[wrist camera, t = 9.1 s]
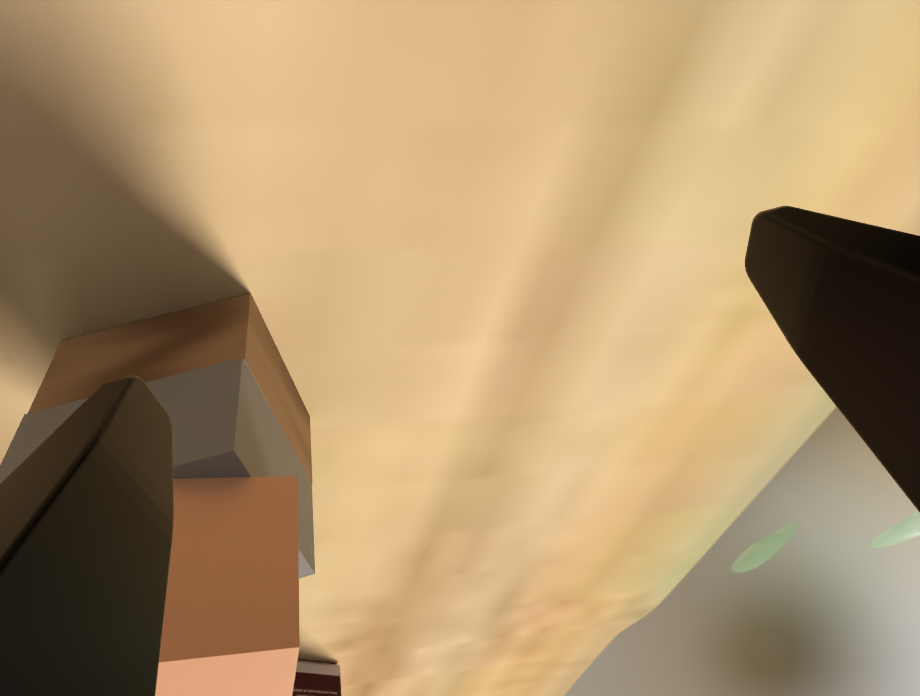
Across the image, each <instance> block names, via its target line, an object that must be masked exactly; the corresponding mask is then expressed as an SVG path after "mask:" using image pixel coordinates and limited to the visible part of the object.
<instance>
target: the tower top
mask: <svg viewBox="0 0 920 696" xmlns="http://www.w3.org/2000/svg"><path fill="white" fill-rule="evenodd" d="M146 384H147V386H148V387H149V388H150V390H151V391H152V392H153V394H154V395H155V396H156V398H157V399H158V401H159V402H160V403H161V405H162V406H163V407H164V409H165V410H166V411H167V413H168V415H169V417H170V419H171V422H172V428H173V479H185V478H232V477H278V476H297V482H298V567H299V578H302V577H305V576H309V575H312V574H315V561H314V533H313V506H312V483H311V481H310V479H309V477H308V475H307V474H306V472H305V470H304V468H303V466H302V465H301V463H300V461H299V459H298V457H297V455H296V454H295V452H294V450H293V448H292V446H291V444H290V443H289V441H288V439H287V437H286V435H285V434H284V432H283V430H282V428H281V426H280V424H279V423H278V421H277V419H276V417H275V415H274V414H273V412H272V410H271V408H270V406H269V404H268V403H267V401H266V399H265V397H264V395H263V394H262V392H261V390H260V388H259V386H258V385H257V383H256V381H255V379H254V377H253V375H252V374H251V372H250V370H249V368H248V366H247V365H246V363H245V361H244V359H243V357H241V358H237V359H233V360H230V361H226V362H222V363H218V364H214V365H211V366H207V367H203V368H199V369H195V370H192V371H188V372H184V373H180V374H176V375H173V376H169V377H165V378H161V379H157V380H154V381H150V382H146ZM87 399H88V398H85V399H82V400H78V401H74V402H70V403H66V404H63V405H59V406H55V407H51V408H47V409H44V410H40V411H36V412H32V413H28V414H25V415H24V417H23V419H22V421H21V423H20V425H19V427H18V429H17V431H16V434H15V436H14V438H13V440H12V442H11V444H10V446H9V448H8V450H7V453H6V455H5V457H4V459H3V461H2V463H1V465H0V483H1V482H2V481H3V480H4V479H5V478H6V477H7V476H8V475H9V474H10V473H11V472H12V471H13V470H14V469H15V468H16V467H17V466H18V465H20V464H21V463H22V462H23V461H24V460H25V459H26V458H27V457H28V456H29V455H30V454H31V453H32V452H33V451H34V450H35V449H36V448H37V447H38V446H39V445H40V444H41V443H42V442H43V441H44V440H45V439H46V438H47V437H48V436H50V435H51V434H52V433H53V432H54V431H55V430H56V429H57V428H58V427H59V426H60V425H61V424H62V423H63V422H64V421H65V420H66V419H67V418H68V417H69V416H70V415H71V414H72V413H73V412H74V411H75V410H76V409H77V408H78V407H80V406H81V405H82V404H83V403H84V402H85V401H86V400H87Z"/></svg>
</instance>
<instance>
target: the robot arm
mask: <svg viewBox="0 0 920 696" xmlns="http://www.w3.org/2000/svg"><path fill="white" fill-rule="evenodd" d="M745 268H746V272H747V275H748V277H749V279H750V280H751V282H752V284H753V285H754V287H755V289H756V290H757V292H758V293H759V295H760V297H761V298H762V300H763V302H764V303H765V305H766V307H767V308H768V310H769V311H770V313H771V315H772V316H773V318H774V320H775V321H776V323H777V325H778V326H779V328H780V329H781V331H782V333H783V334H784V336H785V338H786V339H787V341H788V342H789V344H790V345H791V347H792V348H793V350H794V352H795V353H796V354H797V356H798V357H799V359H800V360H801V361H802V363H803V364H804V365H805V367H806V368H807V369H808V371H809V372H810V373H811V374H812V376H813V377H814V378H815V379H816V381H817V382H818V383H819V385H820V386H821V387H822V388H823V390H824V391H825V392H826V394H827V395H828V396H829V397H830V399H831V400H832V401H833V402H834V404H835V405H836V406H837V408H838V409H839V410H840V411H841V413H842V414H843V415H844V416H845V418H846V419H847V420H848V422H849V423H850V424H851V425H852V427H853V428H854V429H855V431H856V432H857V433H858V434H859V436H860V437H861V438H862V439H863V441H864V442H865V443H866V445H867V446H868V447H869V448H870V450H871V451H872V452H873V453H874V455H875V456H876V457H877V459H878V460H879V461H880V462H881V464H882V465H883V466H884V468H885V469H886V470H887V471H888V473H889V474H890V475H891V476H892V478H893V479H894V480H895V482H896V483H897V484H898V485H899V487H900V488H901V489H902V491H903V492H904V493H905V494H906V496H907V497H908V498H909V499H910V501H911V502H912V503H913V505H914V506H915V507H916V508H917V510H918V511H919V512H920V236H917V235H913V234H909V233H904V232H900V231H896V230H891V229H887V228H882V227H878V226H874V225H869V224H865V223H861V222H856V221H852V220H847V219H843V218H839V217H834V216H830V215H826V214H821V213H817V212H813V211H808V210H804V209H799V208H795V207H791V206H781V207H777V208H773V209H769V210H766V211H762V212H760V213H758V214H757V215H756V216H755V218H754V219H753V222H752V226H751V231H750V236H749V241H748V247H747V252H746V257H745ZM173 525H174V481H173V428H172V422H171V419H170V417H169V415H168V413H167V411H166V410H165V409H164V407H163V406H162V405H161V403H160V402H159V401H158V399H157V398H156V396H155V395H154V394H153V392H152V391H151V390H150V388H149V387H148V386H147V384H146V383H145V382H144V381H143V380H142V379H141V378H140V377H138V376H134V375H130V376H127V377H123V378H119V379H115V380H111V381H108V382H106V383H104V384H102V385H101V386H100V387H99V388H98V389H97V390H96V391H95V392H94V393H93V394H92V395H91V396H90V397H89V398H88V399H87V400H86V401H85V402H84V403H83V404H82V405H81V406H80V407H78V408H77V409H76V410H75V411H74V412H73V413H72V414H71V415H70V416H69V417H68V418H67V419H66V420H65V421H64V422H63V423H62V424H61V425H60V426H59V427H58V428H57V429H56V430H55V431H54V432H53V433H52V434H51V435H50V436H48V437H47V438H46V439H45V440H44V441H43V442H42V443H41V444H40V445H39V446H38V447H37V448H36V449H35V450H34V451H33V452H32V453H31V454H30V455H29V456H28V457H27V458H26V459H25V460H24V461H23V462H22V463H21V464H20V465H18V466H17V467H16V468H15V469H14V470H13V471H12V472H11V473H10V474H9V475H8V476H7V477H6V478H5V479H4V480H3V481H2V482H1V483H0V696H155V693H156V684H157V675H158V666H159V657H160V648H161V638H162V629H163V620H164V611H165V602H166V593H167V584H168V574H169V565H170V556H171V547H172V537H173Z"/></svg>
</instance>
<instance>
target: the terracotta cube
mask: <svg viewBox="0 0 920 696" xmlns="http://www.w3.org/2000/svg"><path fill="white" fill-rule="evenodd" d="M173 481H174V525H173V537H172V547H171V556H170V565H169V574H168V584H167V593H166V602H165V611H164V620H163V629H162V638H161V648H160V657H159V666H158V675H157V684H156V693H155V696H292V694H293V687H294V680H295V674H296V667H297V660H298V654H299V567H298V482H297V476H278V477H232V478H185V479H173Z"/></svg>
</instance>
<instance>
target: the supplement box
mask: <svg viewBox="0 0 920 696" xmlns="http://www.w3.org/2000/svg"><path fill="white" fill-rule="evenodd" d="M292 696H341V681H340V666H339V665H335V664H328V663H321V662H312V661H301V660H297V667H296V674H295V680H294V687H293V694H292Z"/></svg>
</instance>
